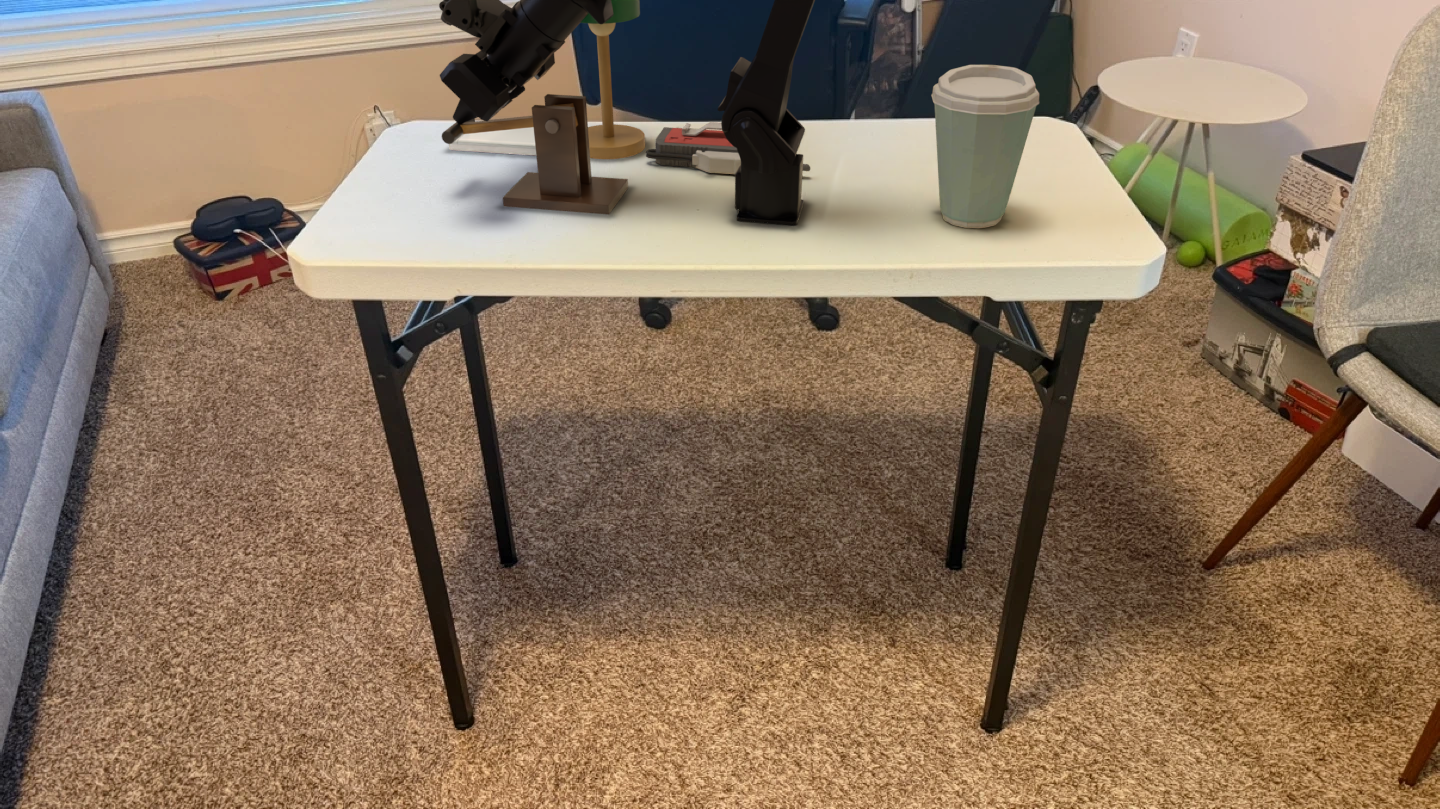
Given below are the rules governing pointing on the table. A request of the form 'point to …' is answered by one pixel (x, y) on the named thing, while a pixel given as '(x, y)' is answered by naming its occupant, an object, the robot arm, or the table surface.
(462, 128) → the switch lever
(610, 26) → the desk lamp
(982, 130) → the disposable coffee cup
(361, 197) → the table surface
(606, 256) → the table surface
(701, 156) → the red boxy piece
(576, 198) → the switch bracket
